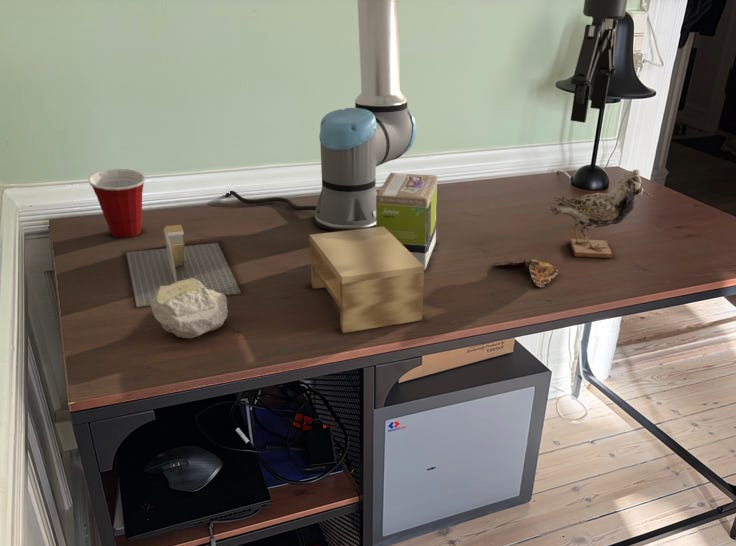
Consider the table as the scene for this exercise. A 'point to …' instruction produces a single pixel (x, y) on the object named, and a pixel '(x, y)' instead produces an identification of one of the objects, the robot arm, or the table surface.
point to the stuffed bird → (600, 213)
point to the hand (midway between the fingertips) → (588, 114)
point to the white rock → (189, 308)
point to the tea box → (409, 212)
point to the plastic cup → (120, 199)
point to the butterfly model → (539, 271)
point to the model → (178, 267)
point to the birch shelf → (368, 277)
